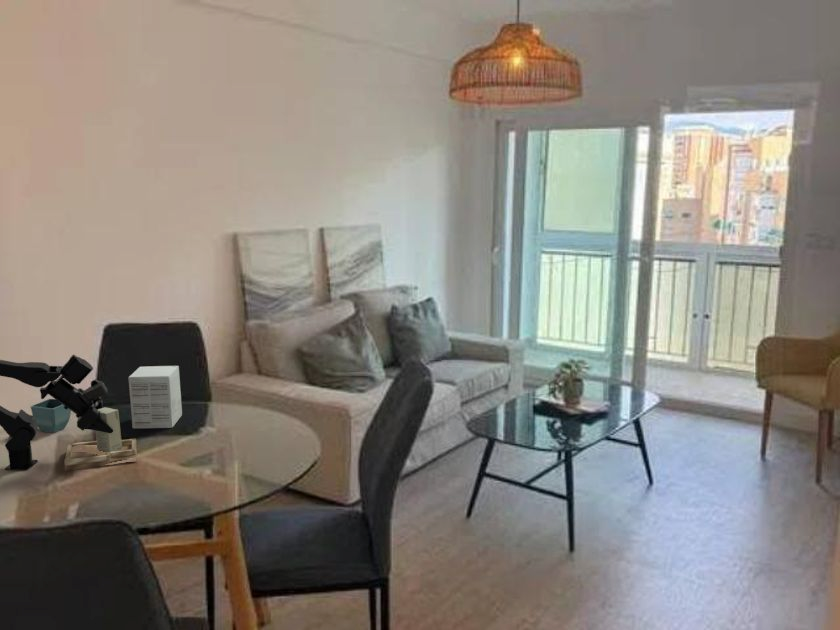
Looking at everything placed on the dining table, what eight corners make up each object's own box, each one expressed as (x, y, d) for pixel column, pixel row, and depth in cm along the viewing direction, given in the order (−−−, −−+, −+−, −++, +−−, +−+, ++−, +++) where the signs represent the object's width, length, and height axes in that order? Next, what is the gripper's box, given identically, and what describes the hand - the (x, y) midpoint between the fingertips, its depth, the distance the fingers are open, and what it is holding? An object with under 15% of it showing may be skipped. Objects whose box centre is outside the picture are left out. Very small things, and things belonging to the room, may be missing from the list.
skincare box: (122, 449, 231) (119, 409, 228) (110, 454, 227) (106, 413, 225) (108, 445, 234) (105, 406, 232) (96, 449, 230) (92, 410, 228)
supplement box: (143, 415, 266) (139, 366, 263) (182, 414, 267) (179, 365, 264) (131, 429, 253) (127, 377, 250) (172, 428, 254) (169, 376, 251)
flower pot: (74, 426, 256) (72, 400, 254) (55, 435, 248) (52, 408, 246) (52, 424, 258) (49, 398, 256) (32, 433, 250) (29, 406, 248)
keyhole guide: (64, 470, 220) (64, 462, 219) (69, 451, 235) (69, 442, 234) (136, 462, 226) (136, 453, 225) (137, 443, 241) (136, 435, 240)
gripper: (86, 383, 216) (131, 417, 222) (90, 366, 233) (132, 398, 239) (57, 413, 215) (104, 446, 221) (63, 394, 232) (106, 425, 238)
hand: (112, 427), depth 230 cm, fingers closed on skincare box, 7 cm apart
